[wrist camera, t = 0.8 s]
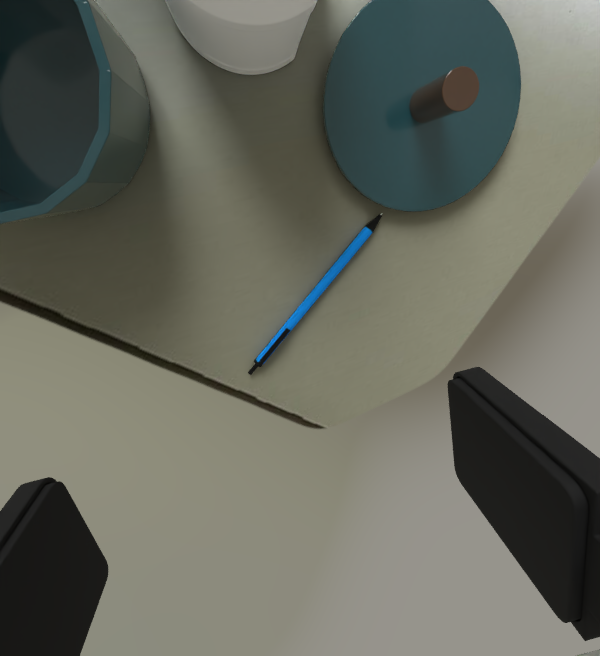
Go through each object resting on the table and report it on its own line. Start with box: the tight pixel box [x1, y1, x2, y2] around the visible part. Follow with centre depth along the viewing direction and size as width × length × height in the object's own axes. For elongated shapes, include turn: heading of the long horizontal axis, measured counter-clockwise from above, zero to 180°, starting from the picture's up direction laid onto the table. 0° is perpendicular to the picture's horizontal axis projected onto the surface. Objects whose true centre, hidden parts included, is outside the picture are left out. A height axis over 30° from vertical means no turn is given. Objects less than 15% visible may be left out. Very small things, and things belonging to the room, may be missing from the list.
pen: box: [248, 213, 382, 375], centre depth 36 cm, size 1×19×1 cm, turn 140°
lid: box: [323, 0, 521, 212], centre depth 29 cm, size 16×16×7 cm
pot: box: [0, 0, 150, 224], centre depth 24 cm, size 15×15×10 cm
